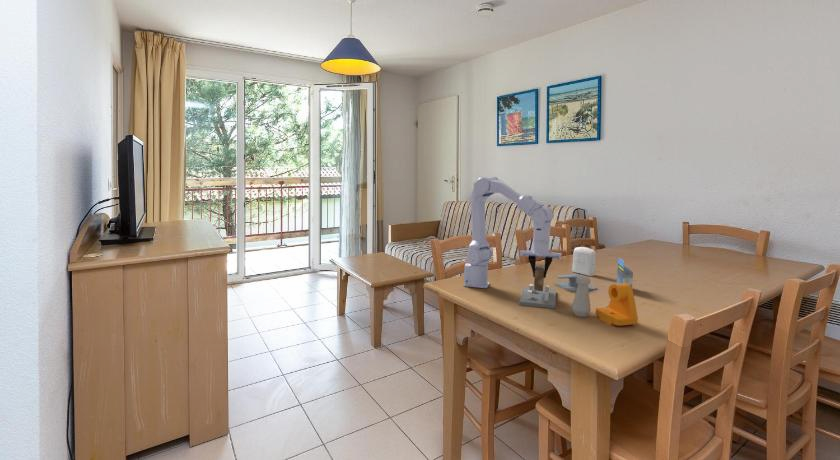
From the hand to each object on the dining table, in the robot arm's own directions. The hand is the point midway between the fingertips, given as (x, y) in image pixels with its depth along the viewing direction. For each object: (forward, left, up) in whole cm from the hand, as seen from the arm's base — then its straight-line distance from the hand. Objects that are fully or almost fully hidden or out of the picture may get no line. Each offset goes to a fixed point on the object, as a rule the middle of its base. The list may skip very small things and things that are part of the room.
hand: (539, 276), depth 154 cm
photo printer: (+18, +46, -8) cm, 50 cm away
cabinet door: (0, 0, -4) cm, 4 cm away
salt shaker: (+14, -14, -8) cm, 22 cm away
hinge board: (0, 0, -8) cm, 8 cm away
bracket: (+24, -16, -8) cm, 30 cm away
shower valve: (+13, +21, -9) cm, 26 cm away
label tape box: (+32, +24, -8) cm, 41 cm away
